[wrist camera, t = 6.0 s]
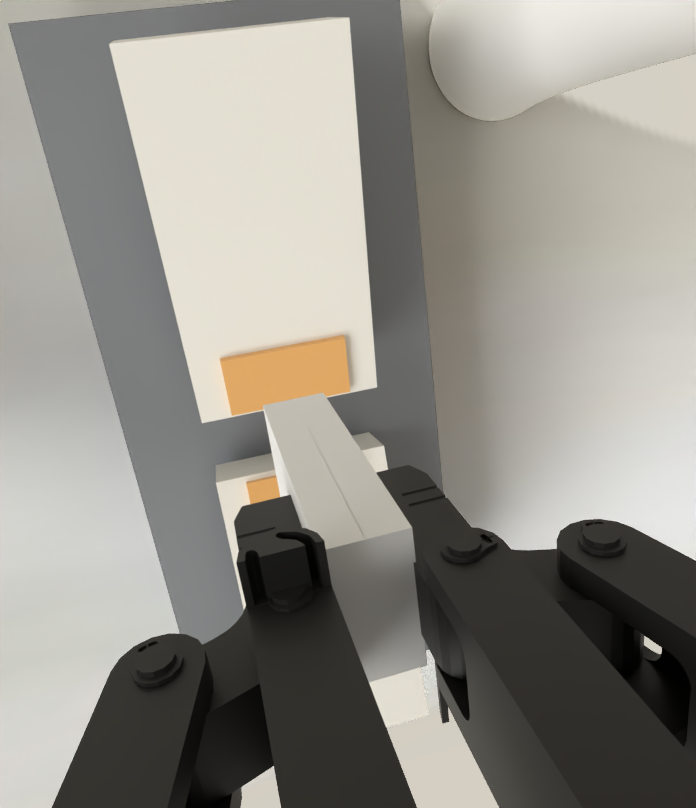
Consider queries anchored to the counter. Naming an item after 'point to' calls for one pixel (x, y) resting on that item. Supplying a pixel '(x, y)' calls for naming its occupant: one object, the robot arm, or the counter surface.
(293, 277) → the plate
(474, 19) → the cosmetic bottle
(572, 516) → the counter surface
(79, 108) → the switch unit
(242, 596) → the rocker
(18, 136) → the counter surface
